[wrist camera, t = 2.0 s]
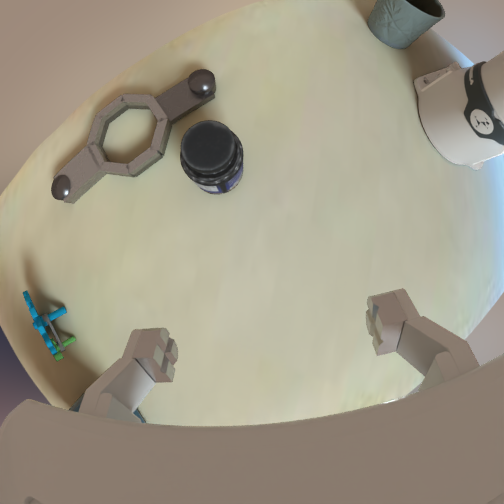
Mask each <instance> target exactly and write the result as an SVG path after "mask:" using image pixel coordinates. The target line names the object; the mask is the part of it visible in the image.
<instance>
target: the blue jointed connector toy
mask: <svg viewBox="0 0 504 504" xmlns="http://www.w3.org/2000/svg"><path fill="white" fill-rule="evenodd" d="M23 295H24V298H25V301H26V303H27V305H28V307H29V311H30V313H31V315H32V317H33V318H34V319H33V320H34V323H33V326H34V328H35V330H36V329H38V330H39V332H40V334H41V335H42V337H43V339H44V341H45V343H46V345H47V347H48V348H49V349H50V351H51V353H52V355H54V357H55V359H56V361H59V360H61V359H62V358H64V357H63V356H62V354H61V352H63V351H64V350H65V348H64V347H65V346H67V345H69V344H70V343H72V342H74V341H75V338H74V336H73V337H71V338H69V339H67V340H66V341H64V342H62V343H61V341H60V339H59V337H58V336H57V334H56V332H55V330H54V328H53V326H52V324H51V322H50V321H52V320H54V319H56V318H57V317H59V316H61V315H63V314H65V313H67V312H66V310H65V308H64V306H63V307H61V308H59V309H58V310H56V311H54V312H52V313H50V314H48V315H47V314H44V315H42V316H40V315H38V313H37V311H36V309H35V307H34V304H33V302H32V300H31V298H30V295H29V294H28V291H25V292H23ZM47 325H49V326H50V328H51V330H52V331H53V333H54V335H55V337H56V339H57V341H58V342H56V343H57V345H56V343H55V341H54V339H53V338H52V339H50V338H49V336H48V334H47V332H46V330H45V327H46V326H47ZM54 346H55V347H54ZM55 348H56V349H55ZM56 350H57V351H56ZM60 350H61V352H60ZM57 352H58V353H57ZM56 353H57V354H56Z"/></svg>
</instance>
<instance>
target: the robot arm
mask: <svg viewBox="0 0 504 504" xmlns="http://www.w3.org/2000/svg"><path fill="white" fill-rule="evenodd" d="M414 85H415V88H416V91H417V94H418V99H419V114H420V118H421V122H422V125H423V127H424V129H425V132H426V134H427V136H428V137H429V139H430V141H431V142H432V144H433V145H434V147H435V148H436V149H437V150H438V151H439V153H440V154H441V155H442V156H444V157H445V158H446V159H447V160H449V161H450V162H452V163H455V164H458V165H468V166H469V167H471V168H472V169H474V170H479V169H481V168H482V166H483V162H484V161H485V160H488V159H491V158H494V157H496V156H499V155H502V154H503V153H504V51H503V52H502V53H500V54H499V55H497V56H496V57H494V58H493V59H491V60H490V61H488V62H480V63H477V64H475V65H473V66H472V67H467V68H463V69H462V68H461V67H460V66H459V64H458V63H457V62H454V63H452V64H450V65H449V66H448V67H447V68H444V69H441V70H438V71H435V72H432V73H429V74H426V75H423V76H420V77H418V78H416V79H415V80H414ZM367 305H368V308H369V309H368V310H367V311H366V325H367V329H368V332H369V334H370V335H371V336H373V342H372V343H373V346H374V349H375V352H376V355H377V356H378V355H383V354H387V353H391V352H395V351H397V353H398V354H399V355H400V356H402V357H403V358H404V359H405V360H406V361H407V362H409V363H410V364H411V365H412V366H413V367H414V368H416V369H417V370H418V371H419V372H420V373H422V374H423V375H424V376H425V378H424V380H423V382H422V384H421V386H420V388H419V389H418V391H419V392H416V393H413V394H410V395H407V396H404V397H401V398H398V399H395V400H391V401H388V402H384V403H381V404H377V405H373V406H369V407H365V408H361V409H357V410H353V411H348V412H344V413H339V414H334V415H328V416H323V417H317V418H311V419H304V420H297V421H289V422H281V423H271V424H259V425H244V426H175V425H160V424H149V423H141V420H140V418H138V417H137V416H136V415H135V414H133V412H134V411H135V410H136V408H137V407H138V406H139V405H140V403H141V402H142V401H143V399H144V398H145V397H146V395H147V394H148V393H149V392H150V390H151V389H152V388H153V386H154V385H155V384H156V383H155V382H173V378H174V373H175V368H174V366H173V365H174V364H175V362H176V361H177V359H178V348H177V345H176V343H175V341H174V340H173V339H171V338H169V334H170V333H169V332H168V330H167V329H166V328H150V329H134V330H133V331H132V332H131V335H130V338H129V340H128V343H127V346H126V348H125V351H124V354H123V357H122V358H119V359H118V360H117V361H116V362H115V363H114V364H113V365H112V366H111V367H110V368H109V369H107V370H106V371H105V372H104V373H103V374H102V375H101V376H100V377H99V378H98V379H97V380H96V381H95V382H94V383H93V384H92V385H91V386H90V387H88V388H87V389H86V392H85V394H84V397H83V400H82V403H81V406H80V409H79V412H74V411H70V410H66V409H62V408H58V407H55V406H51V405H47V404H44V403H41V402H37V401H34V400H31V399H27V400H25V401H24V402H22V403H21V404H19V405H18V406H17V407H16V408H15V409H14V410H13V411H12V412H10V413H9V414H8V415H7V417H6V418H5V420H4V422H3V424H2V426H1V428H0V504H504V354H502V355H500V356H499V357H497V358H495V359H493V360H491V361H489V362H487V363H485V364H483V365H481V366H479V364H478V362H477V360H476V358H475V356H474V354H473V352H472V350H471V348H470V346H469V344H468V343H467V341H465V340H463V339H462V338H460V337H458V336H457V335H455V334H453V333H452V332H450V331H448V330H447V329H445V328H443V327H441V326H440V325H438V324H436V323H435V322H433V321H431V320H430V319H428V318H426V317H424V316H422V317H420V315H419V313H418V312H417V310H416V308H415V306H414V304H413V303H412V301H411V299H410V297H409V296H408V294H407V292H406V291H405V289H403V288H402V289H398V290H394V291H390V292H386V293H382V294H378V295H373V296H369V297H368V299H367Z"/></svg>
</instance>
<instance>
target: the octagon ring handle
mask: <svg viewBox="0 0 504 504" xmlns="http://www.w3.org/2000/svg"><path fill="white" fill-rule="evenodd" d="M215 91H216V83H215V77H214V74H213V73H212V72H211V71H209V70H206V69H200V70H197V71H195V72H193V73H192V74H191V75H190V76H189V78H187V79H185V80H184V81H182V82H180V83H179V84H177V85H175V86H174V87H172V88H170V89H169V90H167V91H166V92H164V93H163V94H161V95H160V96H158V97H157V98H154V97H153V95H146V94H123V96H122V95H120V96H119V97H118V98H116V99H115V100H114V101H112V102H111V103H110V104H109V105H107V106H106V107H105V108H103V109H102V110H101V111H100V112H99V113H97V116H95V119H94V122H93V125H92V128H91V131H90V134H89V138H88V141H87V146H86V147H84V148H83V149H82V150H81V151H80V152H79V153H78V154H77V155H76V156H75V157H74V158H72V159H71V160H70V161H69V162H68V163H67V164H66V165H65V166H64V167H63V168H62V169H61V170H60V171H59V172H58V173H57V174H56V175H55V176H54V177H53V178H54V181H53V183H52V188H51V191H52V195H53V197H54V198H55V199H57V200H64V202H66V203H73V204H74V203H75V202H76V201H77V200H78V199H79V198H80V197H81V196H82V195H83V194H84V193H86V192H87V191H88V190H89V189H90V188H91V187H92V186H93V185H94V184H96V183H97V182H98V181H99V180H100V179H101V178H102V177H104V176H105V175H106V174H113V175H121V176H129V177H135V176H136V177H137V176H138V175H140V174H141V173H142V172H144V171H145V170H146V169H148V168H149V167H150V166H152V165H153V164H154V163H156V162H157V161H158V160H160V159H161V158H163V157H162V155H163V156H164V154H165V150H166V146H167V142H168V139H169V135H170V131H171V128H172V124H174V123H175V122H177V121H178V120H180V119H181V118H183V117H184V116H186V115H188V114H189V113H191V112H192V111H194V110H196V109H197V108H199V107H200V106H202V105H204V104H205V103H207V102H209V101H211V100H212V99H214V98H215V94H214V93H215ZM128 109H150V110H151V111H152V113H153V114H154V116H155V117H156V119H157V120H158V122H157V126H156V129H155V133H154V136H153V140H152V143H151V147H150V148H148V149H147V150H146V151H144V152H143V153H142V154H140V155H139V156H138V157H136V158H135V159H134V160H132V161H131V162H130V163H129V164H122V163H113V162H110V161H109V159H108V157H107V155H106V153H105V151H104V150H103V148H102V146H103V142H104V139H105V135H106V132H107V129H108V125H109V123H111V122H112V121H113V120H114V119H116V118H117V117H118V116H120V115H121V114H122V113H124V112H125V111H126V110H128Z"/></svg>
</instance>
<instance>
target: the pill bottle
mask: <svg viewBox="0 0 504 504" xmlns="http://www.w3.org/2000/svg"><path fill="white" fill-rule="evenodd" d="M180 159H181V165H182V167H183V169H184V171H185V173H186V174H187V175H188V177H189V178H190V179H192V180H193V181H194V182H195V183H196V184H197V185H198V186H199V187H200V188H201V189H202V190H204V191H206V192H208V193H210V194H222V193H226V192H229V191H231V190H232V189H233V188H235V186H237V185H238V183H239V181H240V179H241V177H242V174H243V148H242V144H241V142H240V140H239V139H238V137H237V136H236V135H235V134H234V133H233V132H232V131H231V130H230V129H229V128H228V127H227V126H225V125H224V124H222V123H220V122H217V121H212V120H208V121H202V122H199V123H197V124H195V125H193V126H192V127H191V128H189V129H188V131H187V132H186V133H185V134H184V136H183V139H182V142H181V154H180Z"/></svg>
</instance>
